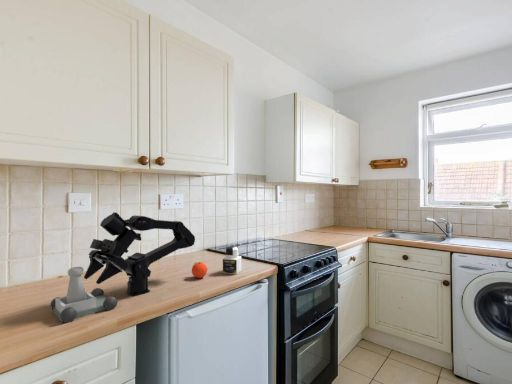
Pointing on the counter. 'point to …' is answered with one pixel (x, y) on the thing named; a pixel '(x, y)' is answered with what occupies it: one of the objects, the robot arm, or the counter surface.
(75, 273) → the salt shaker
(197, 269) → the clementine
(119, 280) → the counter surface
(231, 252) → the medicine bottle
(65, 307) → the toy wheeled cart
